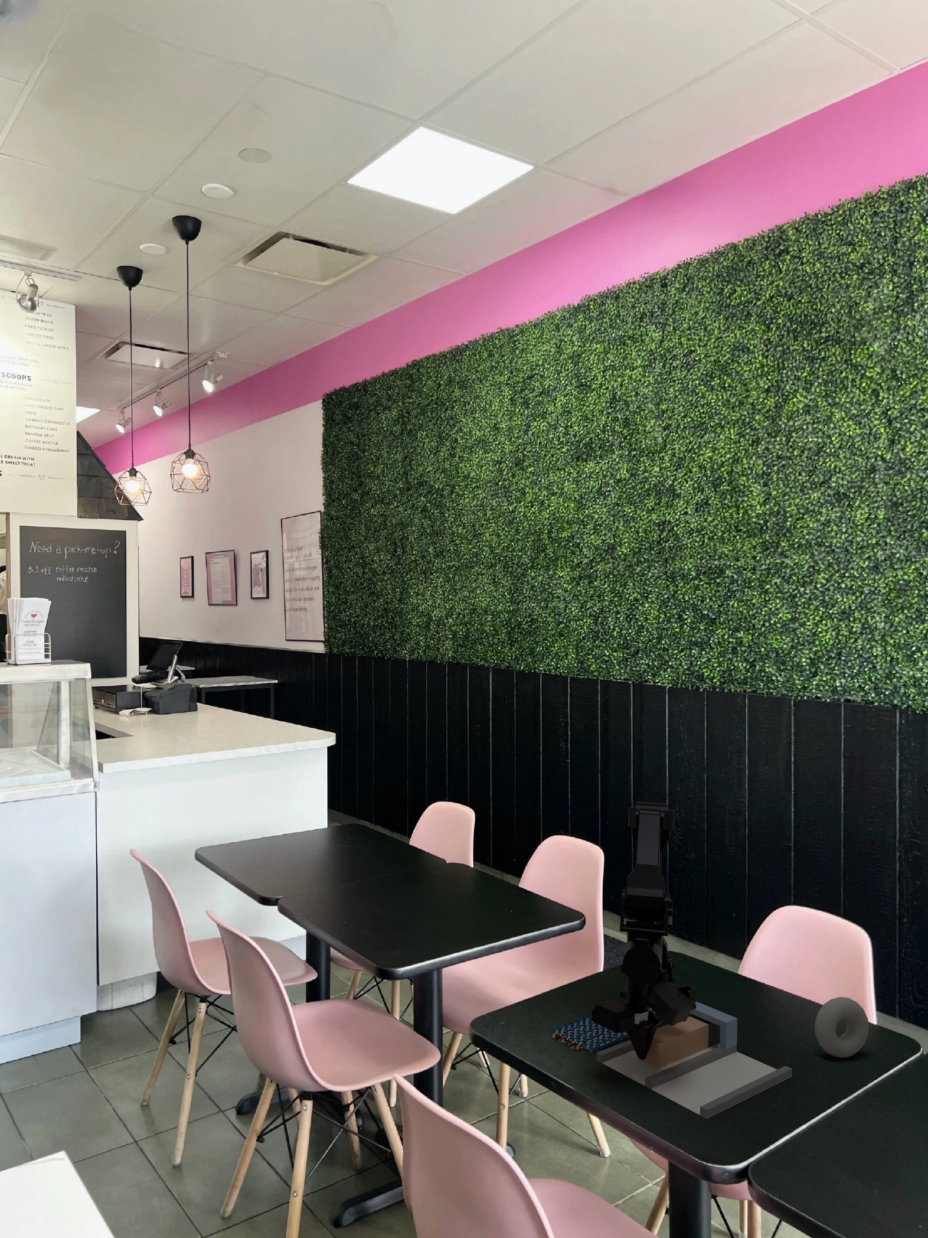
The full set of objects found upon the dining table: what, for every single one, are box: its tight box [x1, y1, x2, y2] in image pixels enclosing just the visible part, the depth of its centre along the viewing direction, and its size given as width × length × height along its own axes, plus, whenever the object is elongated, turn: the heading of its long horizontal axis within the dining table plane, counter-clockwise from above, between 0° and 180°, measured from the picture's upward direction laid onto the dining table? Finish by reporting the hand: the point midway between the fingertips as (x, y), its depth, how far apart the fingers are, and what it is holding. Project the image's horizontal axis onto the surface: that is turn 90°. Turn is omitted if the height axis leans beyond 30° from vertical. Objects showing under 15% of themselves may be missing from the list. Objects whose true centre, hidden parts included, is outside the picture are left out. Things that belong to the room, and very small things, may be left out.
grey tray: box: [596, 1001, 793, 1120], centre depth 146 cm, size 22×22×6 cm
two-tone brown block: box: [640, 1014, 720, 1069], centre depth 151 cm, size 4×16×4 cm, turn 127°
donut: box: [814, 996, 870, 1059], centre depth 153 cm, size 10×3×10 cm, turn 105°
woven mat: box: [551, 1016, 629, 1053], centre depth 157 cm, size 10×11×2 cm
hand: (641, 1059), depth 146 cm, fingers closed
